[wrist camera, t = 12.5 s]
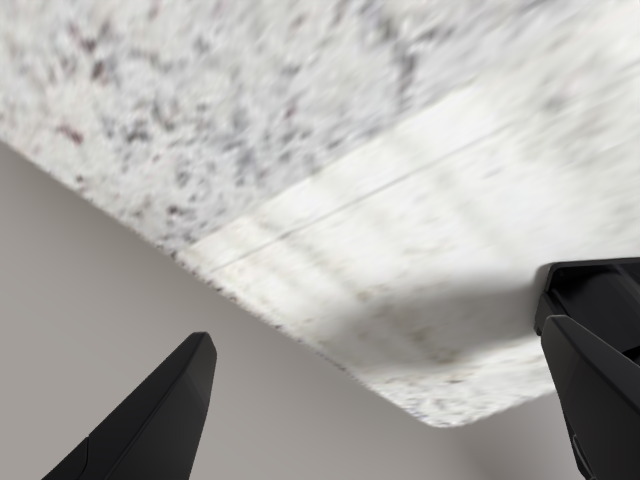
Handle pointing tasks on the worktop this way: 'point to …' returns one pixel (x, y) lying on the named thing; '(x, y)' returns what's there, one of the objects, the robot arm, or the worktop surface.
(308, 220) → the worktop surface
